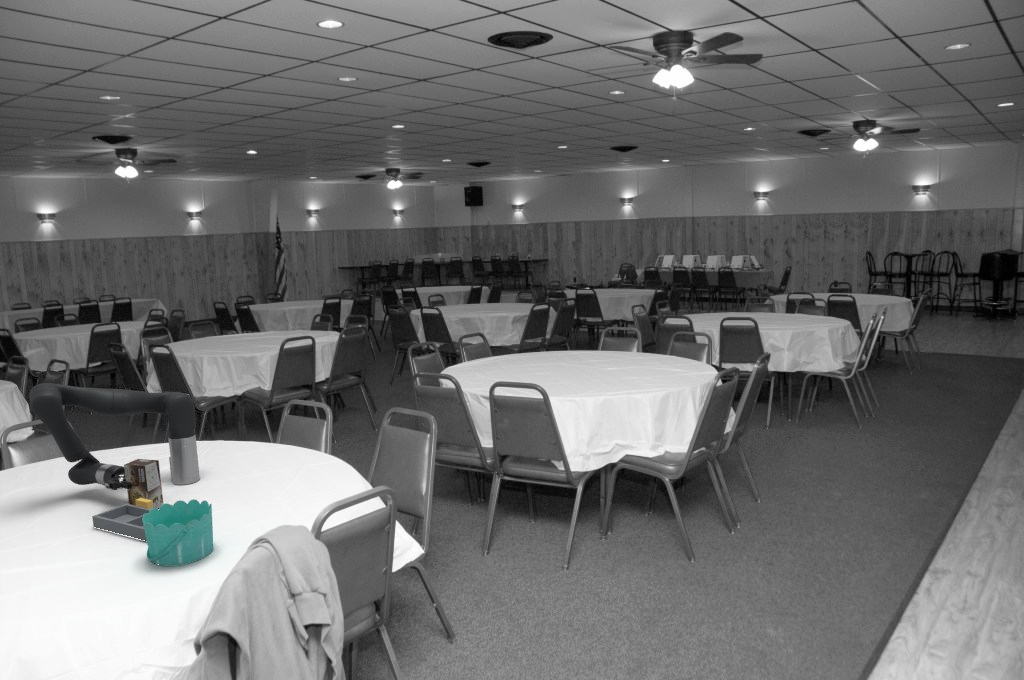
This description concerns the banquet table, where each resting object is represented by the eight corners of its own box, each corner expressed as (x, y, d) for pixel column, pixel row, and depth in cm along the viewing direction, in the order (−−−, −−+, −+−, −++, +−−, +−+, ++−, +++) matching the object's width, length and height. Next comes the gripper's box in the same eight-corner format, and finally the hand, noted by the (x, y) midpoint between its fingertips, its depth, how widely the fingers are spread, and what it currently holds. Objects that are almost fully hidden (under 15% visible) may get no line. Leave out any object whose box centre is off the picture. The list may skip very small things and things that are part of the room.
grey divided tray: (93, 528, 246) (91, 510, 245) (134, 513, 258) (132, 495, 257) (153, 544, 231) (151, 524, 231) (193, 527, 243) (191, 509, 243)
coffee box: (164, 506, 264) (159, 459, 262) (150, 512, 258) (145, 465, 256) (143, 503, 267) (138, 458, 265) (128, 510, 261) (123, 463, 259)
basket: (213, 562, 217) (208, 517, 215) (141, 572, 212) (136, 527, 210) (218, 536, 235) (214, 495, 233) (152, 546, 230) (147, 504, 228)
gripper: (91, 471, 263) (121, 477, 255) (130, 459, 275) (160, 465, 267) (94, 492, 264) (124, 499, 256) (133, 480, 276) (162, 486, 268)
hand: (142, 482), depth 262 cm, fingers open, 8 cm apart
